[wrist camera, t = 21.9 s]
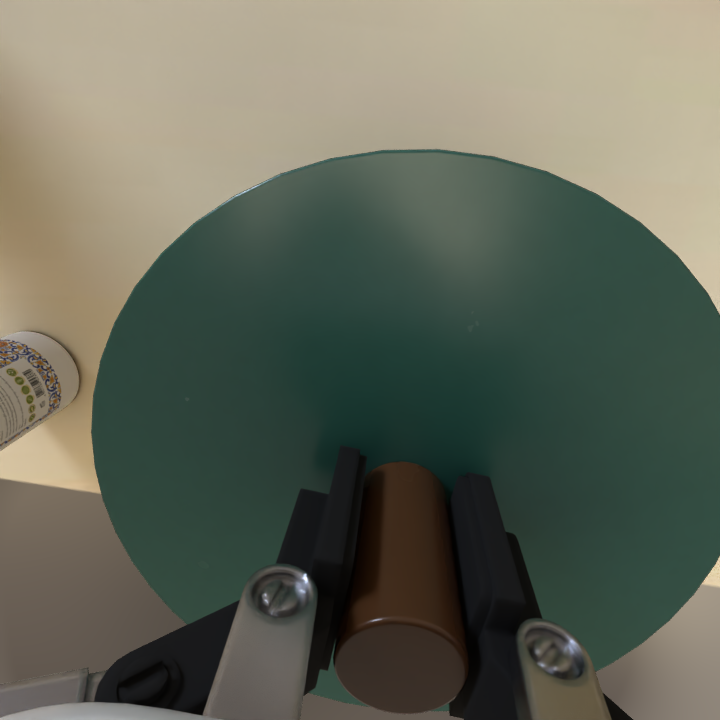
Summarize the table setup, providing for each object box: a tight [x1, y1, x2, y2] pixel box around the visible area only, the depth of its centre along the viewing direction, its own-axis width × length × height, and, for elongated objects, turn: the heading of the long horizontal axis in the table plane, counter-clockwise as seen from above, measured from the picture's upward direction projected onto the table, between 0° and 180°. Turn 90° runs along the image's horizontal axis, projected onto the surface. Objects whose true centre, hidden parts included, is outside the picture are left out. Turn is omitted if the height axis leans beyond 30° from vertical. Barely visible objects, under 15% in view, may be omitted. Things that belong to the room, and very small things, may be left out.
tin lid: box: [91, 149, 720, 714], centre depth 11 cm, size 17×17×6 cm
